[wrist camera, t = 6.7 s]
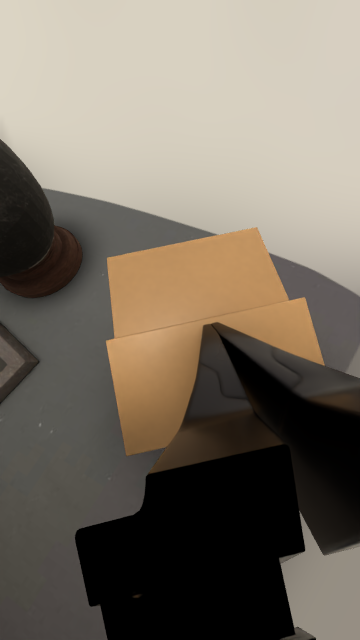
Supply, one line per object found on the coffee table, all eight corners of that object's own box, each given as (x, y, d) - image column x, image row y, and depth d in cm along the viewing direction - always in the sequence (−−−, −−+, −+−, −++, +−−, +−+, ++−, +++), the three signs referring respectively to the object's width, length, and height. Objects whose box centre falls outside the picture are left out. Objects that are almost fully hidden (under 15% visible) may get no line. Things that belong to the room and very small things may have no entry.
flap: (329, 403, 9) (337, 407, 9) (128, 451, 9) (126, 457, 8) (299, 298, 9) (305, 297, 9) (108, 340, 9) (105, 340, 9)
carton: (264, 385, 17) (337, 407, 9) (154, 410, 16) (125, 457, 8) (228, 280, 20) (257, 226, 12) (138, 299, 20) (105, 256, 12)
